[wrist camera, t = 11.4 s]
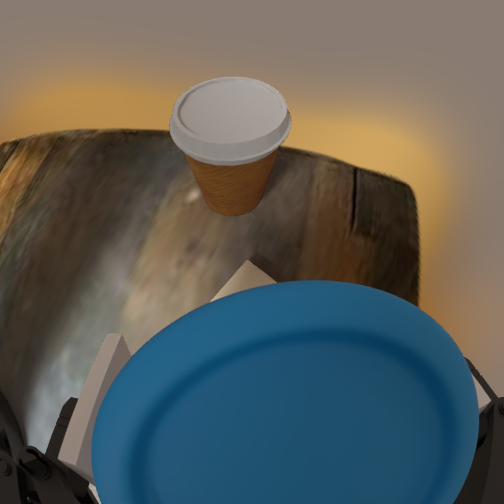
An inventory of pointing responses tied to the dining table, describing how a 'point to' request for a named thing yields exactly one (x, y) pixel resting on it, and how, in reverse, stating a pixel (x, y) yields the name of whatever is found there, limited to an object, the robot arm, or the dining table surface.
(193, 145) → the disposable coffee cup
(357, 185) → the dining table surface
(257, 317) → the beverage bottle
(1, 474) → the robot arm
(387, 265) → the dining table surface
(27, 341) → the dining table surface
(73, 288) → the dining table surface
